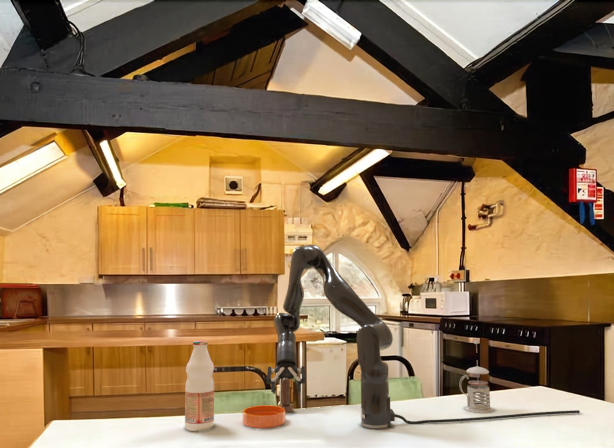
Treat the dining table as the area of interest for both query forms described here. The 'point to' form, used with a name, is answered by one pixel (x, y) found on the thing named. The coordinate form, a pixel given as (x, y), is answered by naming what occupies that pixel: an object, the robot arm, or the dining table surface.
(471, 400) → the french press
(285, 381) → the pestle
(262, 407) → the bowl
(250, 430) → the dining table surface
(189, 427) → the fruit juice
